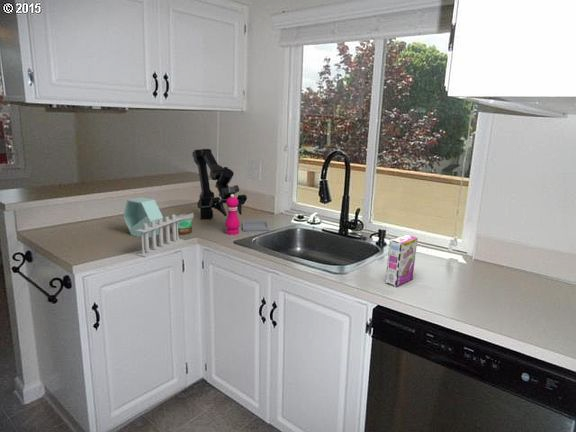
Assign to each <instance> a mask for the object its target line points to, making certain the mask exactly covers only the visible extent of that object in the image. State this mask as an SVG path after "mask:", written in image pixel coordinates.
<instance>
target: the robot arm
mask: <svg viewBox="0 0 576 432" xmlns="http://www.w3.org/2000/svg"><path fill="white" fill-rule="evenodd" d="M191 155H192V159H193V162H194V163H195V165H197V169H198V176H199V181H200V189H201V191H200V194H199V199H198V202H197V204H196V205H197V208H198V209H200V218H199V219H200V220H213V218H214V210H216V211H218V212H220V213H221V214H222V215H223V216H224V217H228V214H227V211H226V209H225V207H224V204H226V201H227V199H228V198H229V197H231V194H234V197H235V194H237V193H239V192H240V187H239V186H238V184H237V185H235V184H234V185H233V186H229V184H230V182H232V179H233V177H234V173H235V172H234V171H233V170H232V169H230V168H229V167H228V166H222V165H220V164H218V161H217V159H216V157H215V156H214V155H213V152H212V149H211V148H202V149H201V148H200V149H194V150H193V151H192V152H191ZM207 166H208V167H207ZM208 168H209V174H208ZM209 177H210V178H211V180H212V181H216V182H215V186H214V188H216V189H217V192H218V196H215V193H214V191H212V190H211V188H210V187H211V186H210V180H209ZM236 198H237V199H238V202H239V203H238V205H237V207H238V208H237V213H238V214H239V215H242V214H243V213H242V206H243V205H245V203H246V202H247V199H248V196H247V195H246V194H238V196H237V197H236Z"/></svg>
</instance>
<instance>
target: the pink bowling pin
mask: <svg viewBox="0 0 576 432" xmlns="http://www.w3.org/2000/svg"><path fill="white" fill-rule="evenodd" d="M238 203H239V202H238V199H237V197H235V196H234V194H231V197H229V198H228V199H227V201H226V203H225V204H226V205H227V213H228V214H227V216H226V217H227V218H226V220H225V223H224V224H225V228H226V231H225V232H226V235H230V236H235V235H239V233H240V229H239V228H240V226H241V222H240V219H239V216H238V210H237V208H238V207H237V205H238Z"/></svg>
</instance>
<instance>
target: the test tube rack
mask: <svg viewBox="0 0 576 432" xmlns="http://www.w3.org/2000/svg"><path fill="white" fill-rule="evenodd" d="M171 215H172V216H171V217H172V218H171V219H170V216H164V220H163V221H162V219H158V223H156V224H155V221H151V225H150V226H148V225H147V223H145V224H143V228H141V229H138V230H135V231H136V232H141V239H140V240H141V252H139V253H137V254H136V256H137V257H140V258H148V257H149V256H150V257H151V256H152V255H155V254H157V253H159V252H161V251H164V250H166V249H168V248H171V247H174V246H175V245H178V244H180V243H182V242H184V239H182V238H180V237H179V235H178V221H179V220H182V218H176V217H175V215H176V213H175V214H171ZM170 224H171V228H170ZM164 226H165V227H164ZM156 228H158V229H159V235H158V241H159V242H158V243H159V245H157V236H156ZM163 228H165V242H164V231H163V230H164V229H163ZM170 229H171V232H172V233H170ZM150 230H151V234H152V237H151V248H150V241H149V238H148V231H150ZM176 232H177V235H176ZM143 233H144V238H143ZM171 234H172V237H171ZM171 238H172V239H171Z"/></svg>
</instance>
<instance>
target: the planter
mask: <svg viewBox="0 0 576 432" xmlns="http://www.w3.org/2000/svg"><path fill="white" fill-rule="evenodd" d="M123 212H124V213H123V216H122V218H123V220H124V223H125V224H126V226H127V229H128V231H129V234H130V235H131V236H132V235H133V237H136V236H137V238H140V237H141V232H136V231H135V230H138V229H141V228H143V224H145V223H147V225H148V226H150V225H151V221H155V224H156V223H158V219H162V221H164V217H163V214H162V212H161V210H160V207H159V206H158V204H157V202H156V200H155V199H152V198H147V197H141V196H139V197H135V198H130V199H126V203H125V207H124V211H123ZM157 236H159V229H158V228H156V237H157ZM148 238H152V234H151V230H150V231H148ZM143 239H144V233H143Z"/></svg>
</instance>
